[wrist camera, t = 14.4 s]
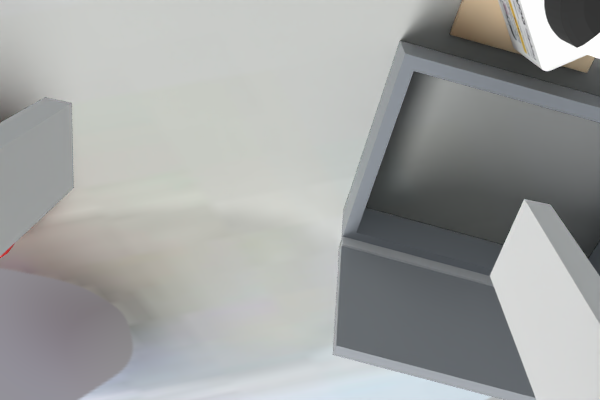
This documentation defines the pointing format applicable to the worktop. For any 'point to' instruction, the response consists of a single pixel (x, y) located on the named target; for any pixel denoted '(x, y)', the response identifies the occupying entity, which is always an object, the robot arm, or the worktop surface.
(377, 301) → the case
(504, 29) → the mat
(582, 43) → the container
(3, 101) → the worktop surface
